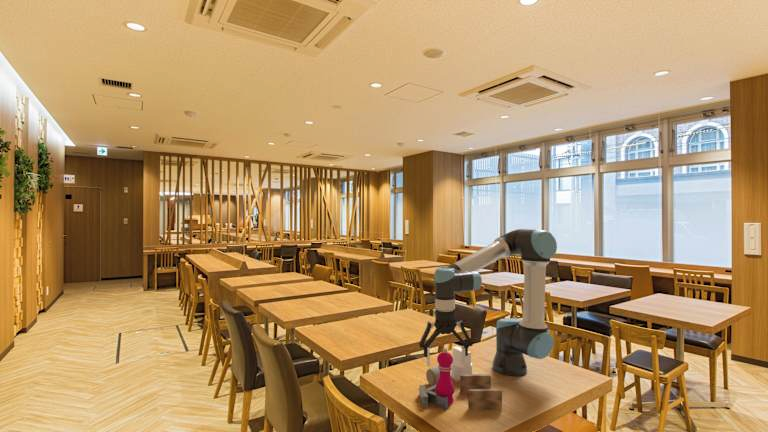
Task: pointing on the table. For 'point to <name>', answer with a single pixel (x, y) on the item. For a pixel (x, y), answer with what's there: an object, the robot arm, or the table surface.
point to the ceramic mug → (433, 375)
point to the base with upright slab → (460, 364)
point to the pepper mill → (445, 376)
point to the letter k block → (432, 397)
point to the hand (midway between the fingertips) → (445, 364)
